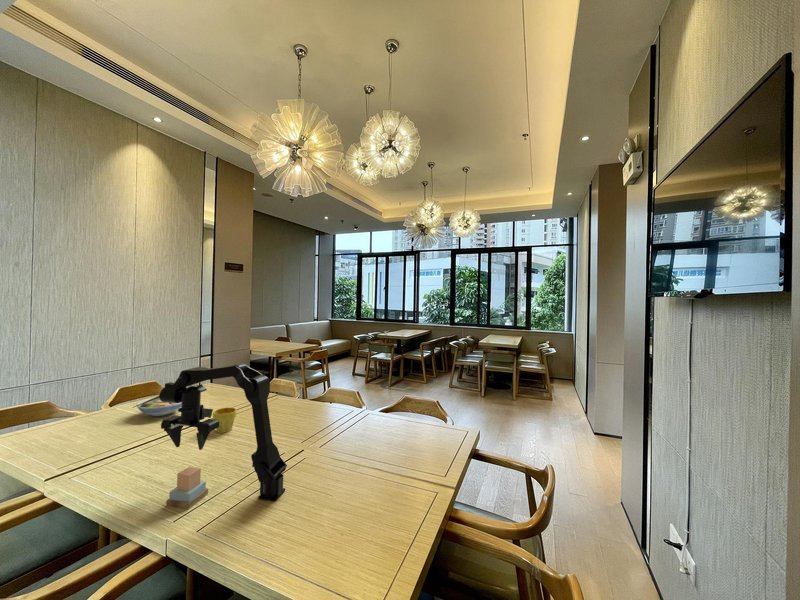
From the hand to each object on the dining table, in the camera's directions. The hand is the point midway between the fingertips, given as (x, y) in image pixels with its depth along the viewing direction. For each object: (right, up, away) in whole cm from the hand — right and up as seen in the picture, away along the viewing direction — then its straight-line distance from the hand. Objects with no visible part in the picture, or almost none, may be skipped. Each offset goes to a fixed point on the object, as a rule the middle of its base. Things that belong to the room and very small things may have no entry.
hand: (189, 448), depth 113 cm
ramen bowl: (-59, -12, +66) cm, 89 cm away
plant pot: (-13, -13, +47) cm, 50 cm away
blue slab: (+5, -11, -9) cm, 15 cm away
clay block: (+6, -8, -9) cm, 13 cm away
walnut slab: (+5, -13, -9) cm, 17 cm away
